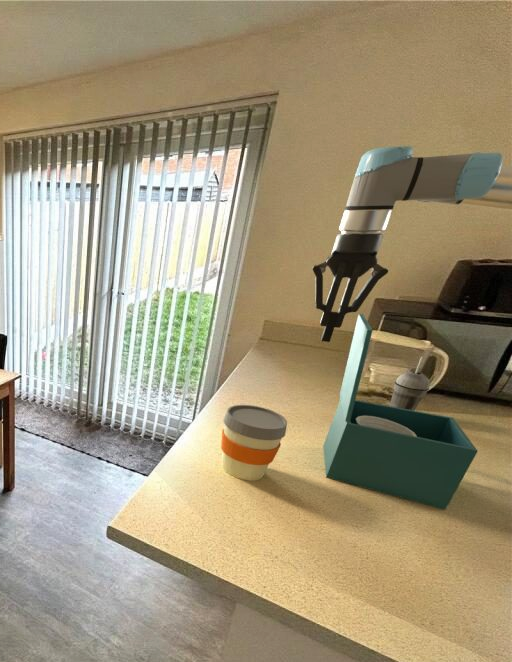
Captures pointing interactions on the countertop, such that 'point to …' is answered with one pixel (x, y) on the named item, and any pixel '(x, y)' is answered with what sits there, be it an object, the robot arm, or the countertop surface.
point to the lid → (355, 365)
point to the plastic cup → (383, 424)
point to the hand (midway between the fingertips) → (325, 340)
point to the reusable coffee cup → (250, 440)
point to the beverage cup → (410, 389)
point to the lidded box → (399, 454)
